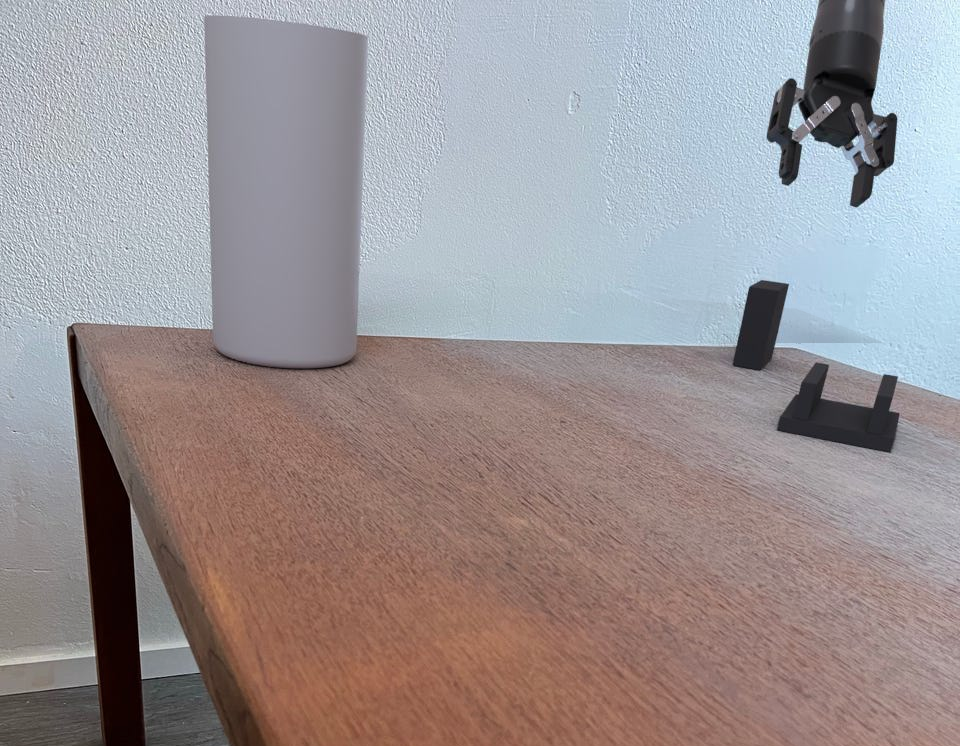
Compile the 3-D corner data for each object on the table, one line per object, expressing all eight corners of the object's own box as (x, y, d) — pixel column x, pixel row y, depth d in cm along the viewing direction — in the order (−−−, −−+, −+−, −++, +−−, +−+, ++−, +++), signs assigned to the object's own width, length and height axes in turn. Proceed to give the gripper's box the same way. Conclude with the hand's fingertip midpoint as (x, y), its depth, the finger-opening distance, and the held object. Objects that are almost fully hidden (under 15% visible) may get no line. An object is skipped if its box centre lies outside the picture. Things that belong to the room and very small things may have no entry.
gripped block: (745, 354, 111) (761, 279, 107) (771, 358, 110) (789, 283, 106) (732, 365, 104) (749, 286, 101) (760, 370, 103) (778, 290, 100)
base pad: (792, 406, 89) (804, 360, 87) (896, 426, 87) (910, 378, 85) (776, 430, 81) (789, 379, 79) (890, 452, 78) (906, 400, 76)
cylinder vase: (325, 378, 82) (334, 25, 70) (187, 356, 84) (173, 10, 72) (374, 351, 93) (389, 43, 81) (250, 333, 95) (247, 29, 83)
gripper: (806, 9, 103) (784, 157, 102) (923, 51, 106) (903, 195, 105) (768, 52, 110) (747, 191, 109) (878, 90, 113) (860, 225, 112)
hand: (824, 193), depth 107 cm, fingers open, 8 cm apart
